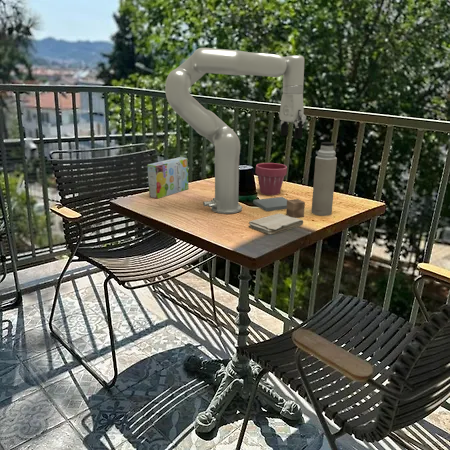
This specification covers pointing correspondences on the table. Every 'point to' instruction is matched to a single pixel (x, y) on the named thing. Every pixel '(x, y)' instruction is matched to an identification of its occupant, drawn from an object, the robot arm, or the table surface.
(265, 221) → the washcloth
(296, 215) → the walnut block
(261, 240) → the table surface
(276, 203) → the slate board
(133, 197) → the table surface
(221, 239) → the table surface
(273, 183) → the plant pot
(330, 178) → the thermos bottle
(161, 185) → the snack box
